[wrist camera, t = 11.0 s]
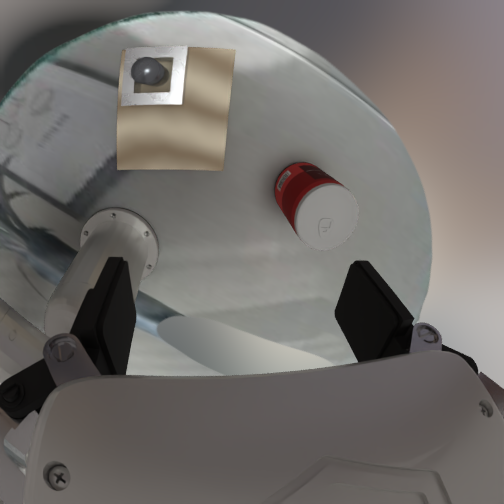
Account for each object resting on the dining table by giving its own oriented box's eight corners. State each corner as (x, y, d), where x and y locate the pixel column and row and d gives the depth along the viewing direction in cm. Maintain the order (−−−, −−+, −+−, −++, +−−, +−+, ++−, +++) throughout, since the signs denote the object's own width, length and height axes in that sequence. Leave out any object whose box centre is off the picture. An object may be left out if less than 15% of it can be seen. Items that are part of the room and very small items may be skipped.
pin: (168, 86, 29) (157, 82, 22) (146, 87, 29) (129, 84, 22) (170, 65, 28) (160, 55, 21) (147, 66, 27) (131, 57, 20)
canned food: (277, 218, 42) (299, 258, 32) (269, 166, 38) (291, 192, 28) (326, 208, 42) (359, 243, 33) (321, 157, 38) (358, 179, 29)
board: (222, 168, 37) (223, 170, 36) (119, 167, 34) (117, 169, 33) (234, 51, 29) (235, 49, 28) (124, 51, 26) (122, 50, 25)
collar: (184, 104, 31) (181, 104, 28) (128, 105, 29) (121, 106, 26) (189, 50, 27) (187, 45, 24) (133, 52, 26) (125, 48, 23)
